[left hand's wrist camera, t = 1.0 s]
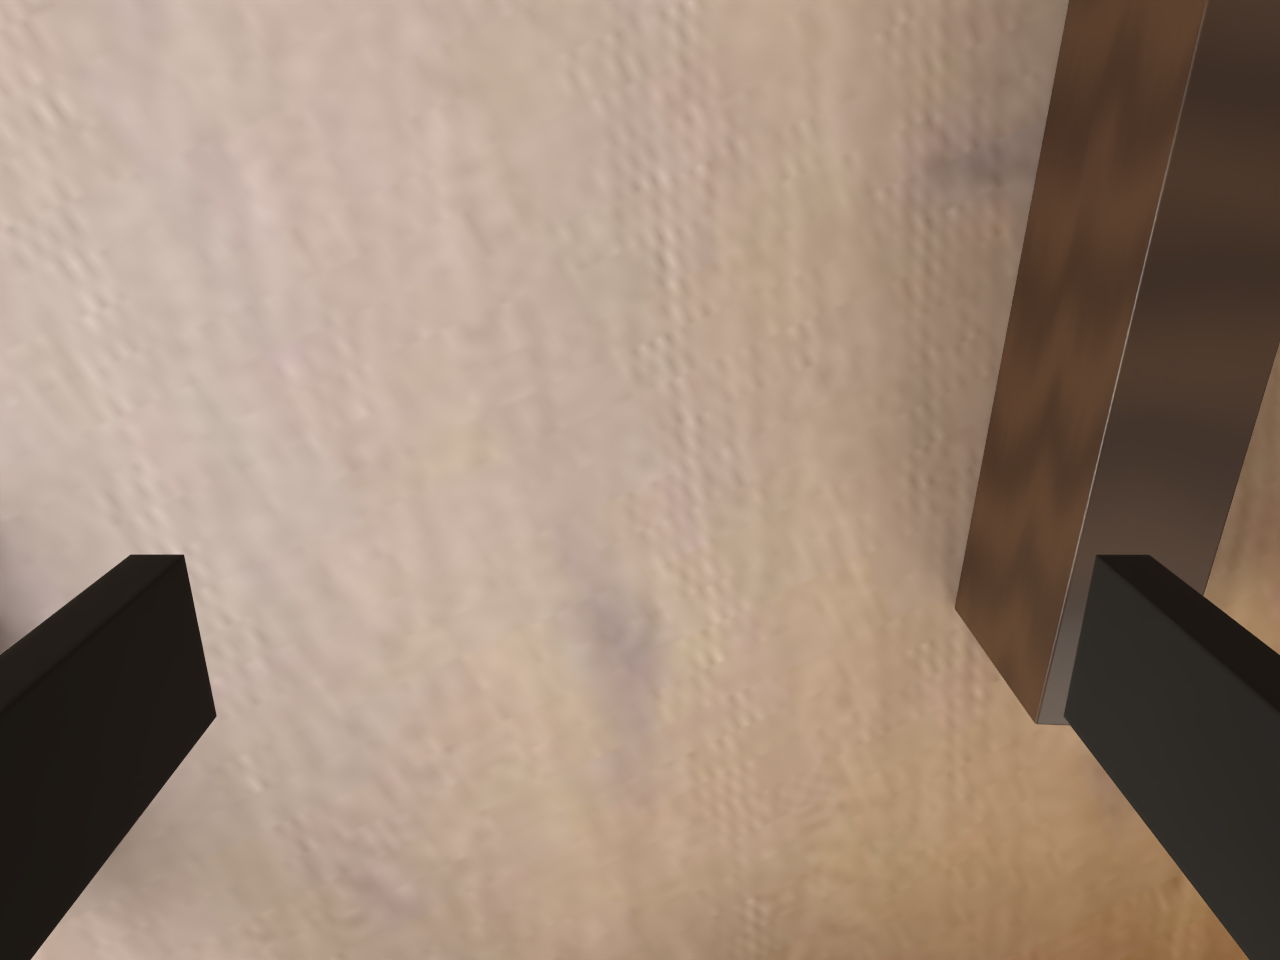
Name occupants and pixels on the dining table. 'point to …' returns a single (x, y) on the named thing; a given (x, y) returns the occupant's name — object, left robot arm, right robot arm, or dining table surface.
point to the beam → (1130, 323)
